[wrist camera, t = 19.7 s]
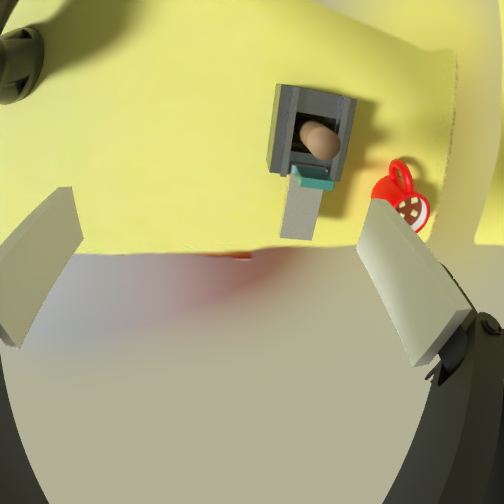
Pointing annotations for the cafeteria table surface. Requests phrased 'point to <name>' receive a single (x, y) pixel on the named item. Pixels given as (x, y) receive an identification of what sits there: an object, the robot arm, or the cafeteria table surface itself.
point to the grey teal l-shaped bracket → (303, 200)
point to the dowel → (317, 138)
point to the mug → (403, 195)
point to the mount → (283, 119)
